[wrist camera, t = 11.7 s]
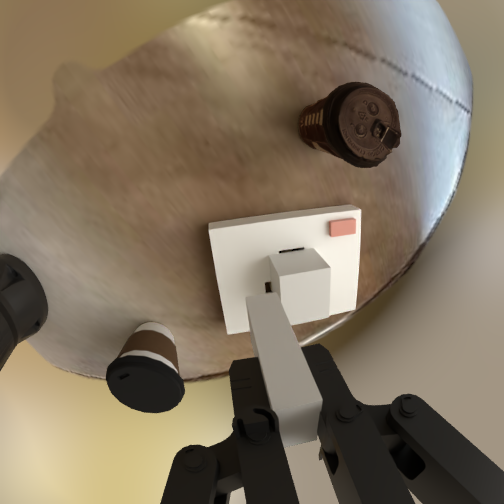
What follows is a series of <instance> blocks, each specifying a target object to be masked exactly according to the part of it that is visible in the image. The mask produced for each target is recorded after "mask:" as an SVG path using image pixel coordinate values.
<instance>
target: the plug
mask: <svg viewBox="0 0 504 504" xmlns="http://www.w3.org/2000/svg"><path fill="white" fill-rule="evenodd" d="M269 264H270V275H271V282H268V283H269V286H270V288H271V291H272V293H273V292H277V294H278V297H279V299H280V301H281V304H282V306H283V308H284V310H285V313H286V315H287V317H288V320H289V322H290V324H291V325H296V324H301V323H305V322H310V321H315V320H319V319H324V318H328V317H329V307H330V282H331V267H330V266H329V265H328V264H327V263H326V261H325V260H324V259H323V258H322V257H321V256H320V255H319V254H318V253H317V251H316V250H315V249H314V248H311V249H304V250H298V251H292V250H291V249H288V250H282V253H279V254H272V255H269Z"/></svg>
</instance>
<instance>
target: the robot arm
mask: <svg viewBox="0 0 504 504" xmlns="http://www.w3.org/2000/svg"><path fill="white" fill-rule="evenodd" d="M245 299H246V307H247V314H248V321H249V328H250V336H251V342H252V346H253V351H254V355H255V357H253V358H247V359H241V360H234V361H233V362H232V364H231V367H230V369H229V376H230V384H231V392H232V400H233V407H234V415H235V417H234V418H233V423H232V427H233V430H234V431H233V432H232V434H231V435H230V436H229V437H228V438H227V439H226V440H224V441H222V442H220V443H217V444H215V445H212V446H210V447H205V446H202V445H189V446H187V447H184V448H182V449H181V450H180V451H179V452H177V454H176V456H175V457H174V460H173V463H172V466H171V470H170V473H169V476H168V480H167V483H166V486H165V489H164V493H163V496H162V500H161V503H160V504H229V500H230V493H231V492H232V491H234V490H237V489H239V488H241V487H244V492H245V498H246V504H299V501H298V497H297V493H296V490H295V486H294V483H293V479H292V475H291V472H290V468H289V465H288V461H287V457H286V454H285V450H284V447H288V446H293V445H298V444H302V443H306V442H310V441H314V440H317V435H318V436H319V439H320V442H321V447H320V452H319V460H322V458H323V460H324V463H325V465H326V468H327V471H328V474H329V476H330V479H331V482H332V485H333V488H334V490H335V493H336V496H337V499H338V502H339V504H415V502H414V500H413V498H412V496H411V494H410V492H409V490H410V491H411V492H412V493H413V494H414V495H415V496H416V497H417V498H418V499H419V501H420V502H421V503H423V504H504V471H503V470H501V469H500V468H499V467H498V466H497V465H496V464H495V463H494V462H492V461H491V460H490V459H489V458H488V457H487V456H486V455H484V454H483V453H482V452H481V451H480V450H479V449H478V448H477V447H476V446H474V445H473V444H472V443H471V442H470V441H469V440H468V439H466V438H465V437H464V436H463V435H462V434H461V433H460V432H458V430H456V429H455V428H454V427H453V426H452V425H451V424H450V423H448V422H447V421H446V420H445V419H444V418H443V417H442V416H441V415H439V414H438V413H437V412H436V411H435V410H433V408H431V407H430V406H429V405H428V404H427V403H426V402H425V401H424V400H422V399H421V398H420V397H418V396H416V395H412V394H403V395H401V396H398V397H397V398H396V399H395V400H394V401H393V402H392V404H387V405H375V406H374V405H366V404H363V403H361V402H360V401H358V400H356V399H355V398H354V397H353V395H352V394H351V392H350V390H349V388H348V386H347V384H346V383H345V381H344V379H343V377H342V375H341V373H340V371H339V370H338V369H337V366H336V364H335V362H334V361H333V358H332V356H331V354H330V353H329V351H328V350H327V349H326V348H324V347H323V346H322V345H320V344H315V345H311V346H306V347H301V348H300V345H299V343H298V341H297V338H296V336H295V334H294V331H293V329H292V327H291V324H290V322H289V320H288V317H287V315H286V313H285V310H284V308H283V306H282V304H281V301H280V299H279V297H278V294H277V292H273V293H267V294H261V295H255V296H248V297H245ZM47 315H48V305H47V299H46V296H45V293H44V290H43V288H42V286H41V284H40V282H39V280H38V279H37V277H36V276H35V274H34V273H33V272H32V270H31V269H30V268H29V267H28V266H27V265H26V264H25V263H24V262H22V261H21V260H20V259H18V258H16V257H14V256H12V255H8V254H2V255H0V371H1V369H2V368H3V366H4V364H5V363H6V361H7V359H8V358H9V356H10V355H11V353H12V351H13V350H14V348H15V347H16V346H17V344H18V343H20V342H22V341H23V340H25V339H27V338H29V337H30V336H32V335H34V334H35V333H37V332H38V331H39V330H40V328H41V327H42V326H43V324H44V323H45V321H46V319H47ZM408 489H409V490H408Z"/></svg>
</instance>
